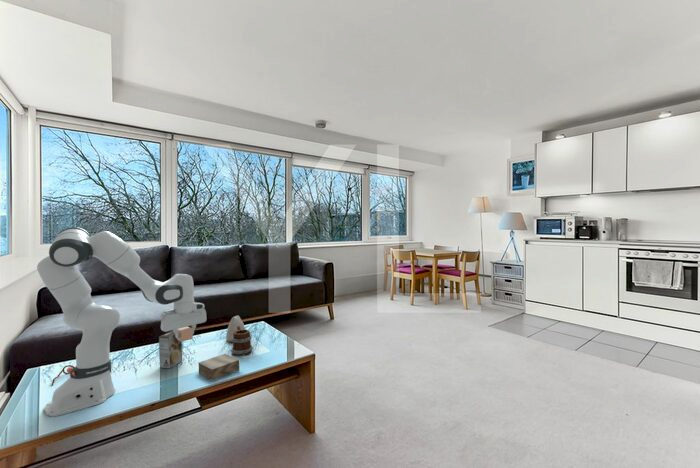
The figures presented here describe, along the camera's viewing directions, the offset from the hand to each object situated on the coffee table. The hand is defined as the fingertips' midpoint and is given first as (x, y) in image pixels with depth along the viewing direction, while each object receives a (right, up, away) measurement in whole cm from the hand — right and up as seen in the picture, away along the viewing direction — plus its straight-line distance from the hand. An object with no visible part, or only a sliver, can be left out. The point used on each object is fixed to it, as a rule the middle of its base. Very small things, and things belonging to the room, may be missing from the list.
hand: (184, 335), depth 155 cm
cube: (0, -2, 0) cm, 2 cm away
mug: (+17, -18, +29) cm, 39 cm away
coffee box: (-14, -19, +13) cm, 27 cm away
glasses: (-53, -21, 0) cm, 57 cm away
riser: (+15, -19, +4) cm, 24 cm away
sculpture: (+7, -18, +50) cm, 54 cm away
